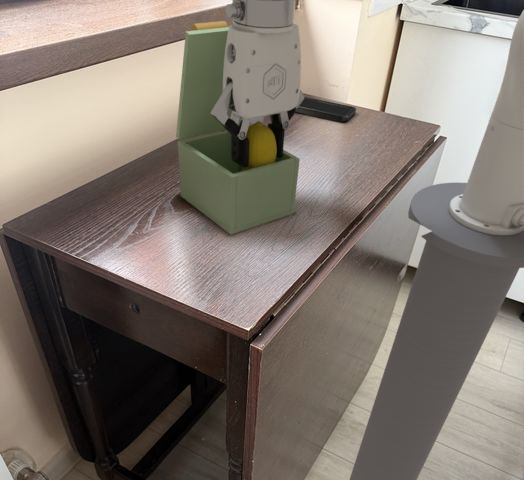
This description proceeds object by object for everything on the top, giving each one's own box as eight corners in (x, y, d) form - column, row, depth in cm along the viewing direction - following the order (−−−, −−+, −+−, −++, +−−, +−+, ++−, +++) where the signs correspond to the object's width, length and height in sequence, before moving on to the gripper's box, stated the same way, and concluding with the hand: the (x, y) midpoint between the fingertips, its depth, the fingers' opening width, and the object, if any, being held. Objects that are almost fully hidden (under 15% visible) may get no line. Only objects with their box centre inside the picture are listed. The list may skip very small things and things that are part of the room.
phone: (346, 117, 110) (283, 103, 114) (345, 123, 110) (282, 109, 114) (357, 107, 115) (296, 94, 119) (356, 112, 116) (296, 99, 120)
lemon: (273, 169, 78) (276, 115, 73) (276, 185, 74) (280, 129, 69) (237, 168, 78) (238, 114, 72) (238, 185, 74) (239, 128, 68)
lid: (265, 26, 69) (244, 8, 71) (189, 34, 63) (168, 14, 65) (244, 125, 81) (227, 107, 83) (178, 139, 75) (161, 120, 77)
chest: (293, 213, 80) (299, 158, 74) (230, 234, 74) (232, 177, 68) (241, 179, 88) (242, 126, 82) (180, 196, 82) (177, 141, 76)
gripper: (222, 25, 55) (223, 183, 68) (335, 12, 64) (318, 155, 76) (186, 12, 60) (193, 162, 72) (297, 1, 68) (286, 139, 80)
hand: (257, 157), depth 74 cm, fingers closed on lemon, 5 cm apart
